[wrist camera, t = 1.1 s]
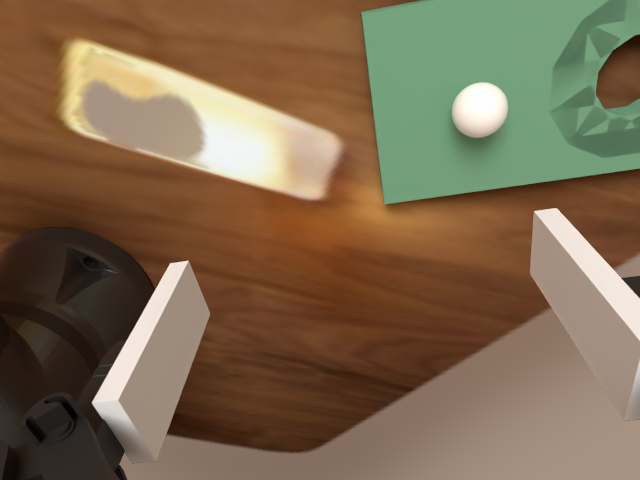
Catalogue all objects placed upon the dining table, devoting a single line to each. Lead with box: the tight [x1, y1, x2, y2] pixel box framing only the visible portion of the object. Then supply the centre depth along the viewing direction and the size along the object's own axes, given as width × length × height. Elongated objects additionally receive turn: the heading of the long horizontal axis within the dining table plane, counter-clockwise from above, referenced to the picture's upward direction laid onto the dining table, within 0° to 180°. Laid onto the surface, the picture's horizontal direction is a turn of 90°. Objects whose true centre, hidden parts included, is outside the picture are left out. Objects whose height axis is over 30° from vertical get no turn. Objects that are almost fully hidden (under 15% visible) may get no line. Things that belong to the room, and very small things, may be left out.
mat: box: [361, 0, 640, 204], centre depth 31 cm, size 25×14×4 cm, turn 100°
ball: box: [452, 82, 508, 138], centre depth 30 cm, size 4×4×4 cm
